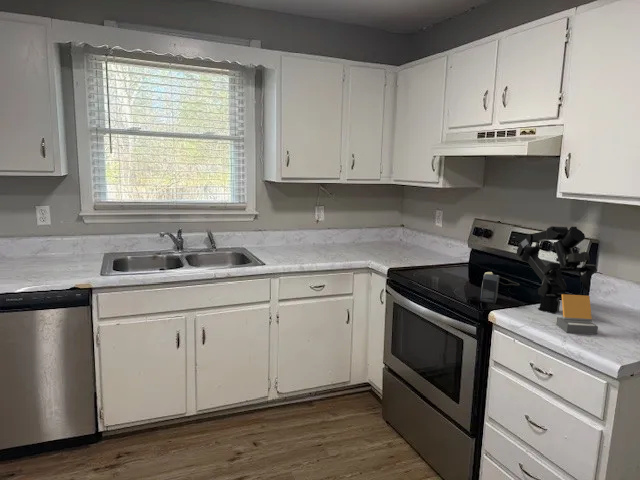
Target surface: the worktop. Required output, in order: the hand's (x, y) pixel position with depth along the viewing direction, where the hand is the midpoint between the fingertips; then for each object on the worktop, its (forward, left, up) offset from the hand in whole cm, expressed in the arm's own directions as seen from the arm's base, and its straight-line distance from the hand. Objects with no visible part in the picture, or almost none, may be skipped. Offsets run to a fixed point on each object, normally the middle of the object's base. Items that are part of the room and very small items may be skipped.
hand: (575, 289), depth 175 cm
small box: (-35, +4, -14) cm, 38 cm away
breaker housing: (+4, -5, -14) cm, 15 cm away
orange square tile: (+4, -5, -10) cm, 11 cm away
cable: (-47, +41, -14) cm, 64 cm away
